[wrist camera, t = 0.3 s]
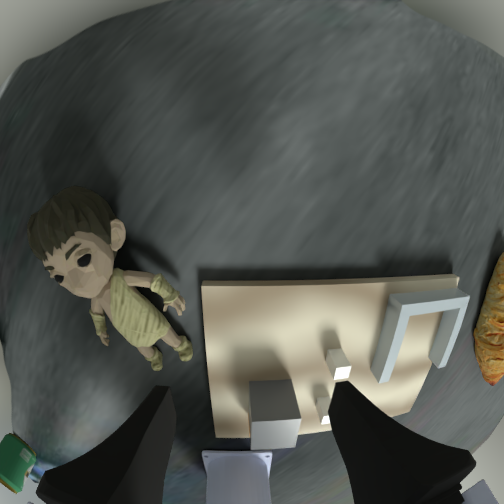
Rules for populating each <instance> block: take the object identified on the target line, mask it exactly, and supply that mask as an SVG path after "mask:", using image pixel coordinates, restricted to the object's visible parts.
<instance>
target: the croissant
mask: <svg viewBox="0 0 504 504" xmlns="http://www.w3.org/2000/svg"><path fill="white" fill-rule="evenodd" d="M476 326H477V328H475V329H474V334H473V336H474V339H475V355H476V358H477V361H478V363H479V367H480V369H481V371H482V375H483V378H484V380H485V381H486V382H488V383H489V384H490V385H492V386H494V385H495V384H496V383H497V382H498V381H499V380H500V378H502V376H503V375H504V252H503V253H502V255H501V256H500V257H499V259H498V262H497V264H496V266H495V268H494V272H493V275H492V277H491V280H490V282H489V286H488V288H487V292H486V296H485V299H484V302H483V305H482V308H481V312H480V315H479V318H478V321H477V325H476Z"/></svg>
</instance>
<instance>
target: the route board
mask: <svg viewBox="0 0 504 504" xmlns="http://www.w3.org/2000/svg"><path fill="white" fill-rule="evenodd" d="M458 280H459V277H458V276H456V275H454V274H441V275H424V276H405V277H384V278H359V279H326V280H270V281H203V283H202V286H201V288H202V305H203V319H204V332H205V344H206V356H207V366H208V376H209V385H210V394H211V403H212V411H213V419H214V426H215V434H216V438H250V437H249V423H248V413H249V381H267V380H286V379H292V383H293V387H294V391H295V395H296V399H297V403H298V407H299V411H300V415H301V423H300V427H299V432H298V435H299V434H308V433H315V432H322V431H329V430H332V428H331V424H330V423H328V424H321V422H320V419H319V416H318V413H317V410H316V407H315V406H316V401H317V398H319V397H327V396H330V398H332V395H333V391H334V387H335V383H336V382H341V381H349V382H350V383H351V384H353V385H354V386H355V387H356V388H357V389H358V390H359V391H360V392H361V393H362V394H363V395H364V396H365V397H367V398H368V399H369V400H370V401H371V402H372V403H373V404H374V405H376V406H377V407H378V408H379V409H380V410H382V411H383V412H384V413H385V414H387V415H388V416H389V417H393V416H396V415H400V414H403V413H406V412H409V411H410V409H411V407H412V405H413V403H414V401H415V399H416V397H417V395H418V393H419V391H420V389H421V387H422V385H423V383H424V381H425V378H426V376H427V374H428V372H429V369H430V367H431V364H432V361H431V360H430V359H429V358H428V357H429V354H430V351H431V349H432V346H433V343H434V340H435V337H436V335H437V332H438V329H439V325H440V322H441V319H442V316H443V312H444V311H439V312H433V313H427V314H420V315H413V316H410V317H409V320H408V324H407V328H406V331H405V334H404V338H403V341H402V344H401V347H400V350H399V353H398V356H397V359H396V362H395V365H394V368H393V371H392V373H391V376H390V379H389V381H388V382H384V383H378V382H377V380H376V378H375V377H374V375H373V374H372V372H371V370H370V369H371V366H372V362H373V359H374V356H375V352H376V349H377V345H378V341H379V338H380V334H381V330H382V326H383V322H384V318H385V313H386V309H387V305H388V300H389V295H390V294H397V293H409V292H420V291H430V290H440V289H449V288H457V285H458ZM339 348H342V350H343V352H344V353H345V355H346V357H347V359H348V361H349V362H350V364H351V370H350V373H349V377H348V378H344V379H337V380H333V377H332V375H331V373H330V371H329V368H328V366H327V364H326V362H325V360H326V355H327V350H328V349H339Z"/></svg>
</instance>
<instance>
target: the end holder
mask: <svg viewBox="0 0 504 504" xmlns="http://www.w3.org/2000/svg"><path fill="white" fill-rule="evenodd" d="M469 298H470V296H469V295H468V294H466V293H464V292H463V291H461V290H460V289H458V288H449V289H440V290H430V291H420V292H409V293H397V294H390V295H389V300H388V305H387V309H386V313H385V318H384V322H383V326H382V330H381V334H380V338H379V341H378V345H377V349H376V352H375V356H374V359H373V362H372V366H371V369H370V370H371V372H372V374H373V375H374V377H375V378H376V380H377V382H378V383H384V382H388V381H389V379H390V376H391V373H392V371H393V368H394V365H395V362H396V359H397V356H398V353H399V350H400V347H401V344H402V341H403V338H404V334H405V331H406V328H407V324H408V320H409V317H410V316H413V315H420V314H427V313H433V312H439V311H444V312H443V316H442V319H441V322H440V325H439V329H438V332H437V335H436V337H435V340H434V343H433V346H432V349H431V351H430V354H429V357H428V358H429V359H430V360H431V361H432V362H433V363H434V364H435V366H436V367H437V368H441V367H444V366H445V365H446V363H447V361H448V358H449V356H450V353H451V351H452V348H453V346H454V343H455V341H456V338H457V335H458V332H459V330H460V327H461V324H462V321H463V318H464V315H465V311H466V308H467V305H468V301H469Z"/></svg>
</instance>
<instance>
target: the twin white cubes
mask: <svg viewBox="0 0 504 504" xmlns="http://www.w3.org/2000/svg"><path fill="white" fill-rule="evenodd" d="M325 362H326V364H327V366H328V368H329V371H330V373H331V375H332V377H333V380H337V379H344V378H348V377H349V373H350V370H351V364H350V362H349V361H348V359H347V357H346V355H345V353H344V352H343V350H342V348H339V349H328V350H327V355H326V360H325ZM330 402H331V398H330V396H327V397H319V398H317V401H316V406H315V407H316V410H317V413H318V416H319V419H320V422H321V424H328V423H330V420H329V415H328V409H329V406H330Z"/></svg>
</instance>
